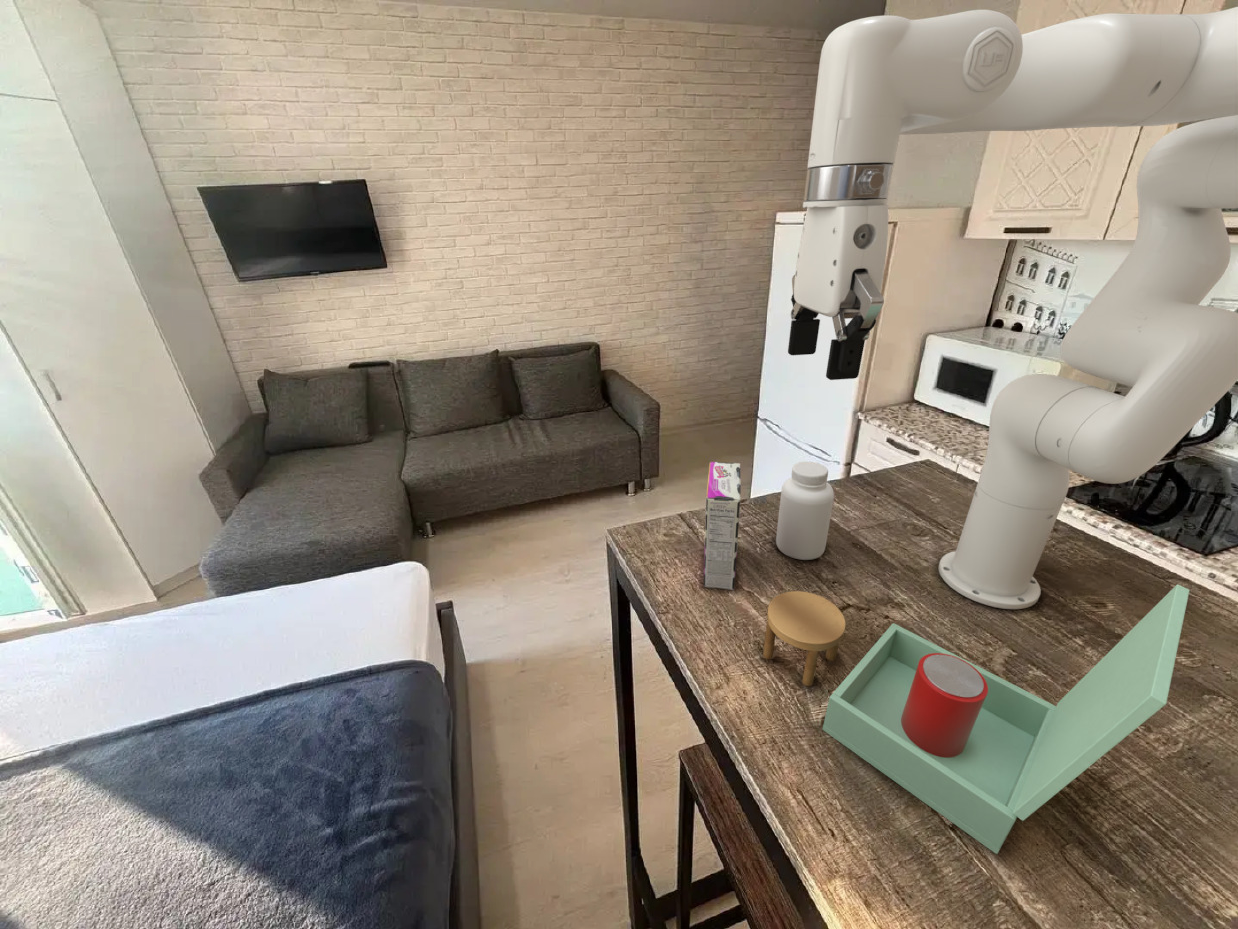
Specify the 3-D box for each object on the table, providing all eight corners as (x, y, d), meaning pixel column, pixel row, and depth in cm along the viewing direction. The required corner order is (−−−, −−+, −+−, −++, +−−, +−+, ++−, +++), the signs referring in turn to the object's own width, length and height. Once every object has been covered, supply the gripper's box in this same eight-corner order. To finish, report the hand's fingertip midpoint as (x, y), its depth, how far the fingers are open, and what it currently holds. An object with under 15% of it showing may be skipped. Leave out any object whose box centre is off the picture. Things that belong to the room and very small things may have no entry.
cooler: (822, 729, 56) (829, 697, 54) (884, 653, 65) (893, 622, 63) (996, 855, 45) (1015, 820, 43) (1043, 742, 54) (1060, 708, 52)
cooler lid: (1150, 695, 33) (1166, 704, 32) (1177, 583, 42) (1190, 589, 41) (1012, 813, 43) (1022, 821, 42) (1057, 702, 52) (1067, 708, 51)
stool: (787, 620, 71) (793, 581, 68) (849, 657, 65) (859, 616, 62) (748, 655, 66) (753, 614, 63) (812, 699, 60) (821, 656, 57)
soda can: (914, 697, 59) (932, 642, 55) (973, 732, 55) (997, 675, 51) (891, 729, 55) (908, 673, 51) (952, 769, 51) (976, 712, 47)
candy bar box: (705, 545, 87) (708, 460, 80) (734, 548, 86) (741, 462, 79) (701, 588, 78) (705, 496, 70) (734, 592, 77) (742, 498, 69)
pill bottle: (768, 535, 89) (776, 459, 83) (812, 531, 90) (824, 455, 83) (785, 563, 82) (796, 482, 76) (833, 559, 83) (848, 478, 76)
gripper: (944, 184, 41) (898, 387, 49) (839, 191, 56) (817, 345, 64) (854, 187, 40) (823, 392, 48) (774, 193, 56) (759, 348, 64)
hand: (819, 365), depth 56 cm, fingers open, 9 cm apart
